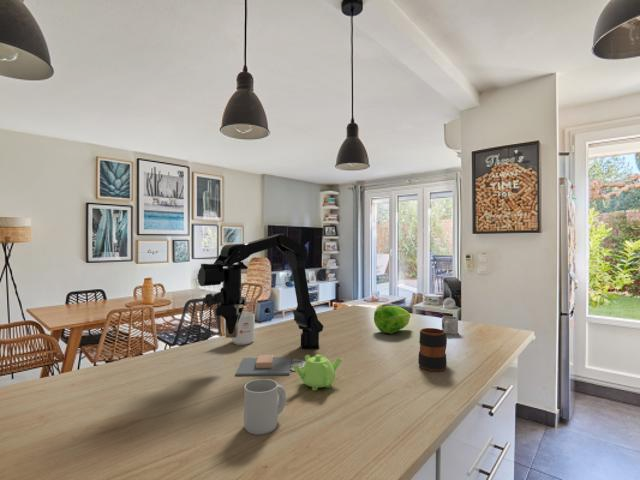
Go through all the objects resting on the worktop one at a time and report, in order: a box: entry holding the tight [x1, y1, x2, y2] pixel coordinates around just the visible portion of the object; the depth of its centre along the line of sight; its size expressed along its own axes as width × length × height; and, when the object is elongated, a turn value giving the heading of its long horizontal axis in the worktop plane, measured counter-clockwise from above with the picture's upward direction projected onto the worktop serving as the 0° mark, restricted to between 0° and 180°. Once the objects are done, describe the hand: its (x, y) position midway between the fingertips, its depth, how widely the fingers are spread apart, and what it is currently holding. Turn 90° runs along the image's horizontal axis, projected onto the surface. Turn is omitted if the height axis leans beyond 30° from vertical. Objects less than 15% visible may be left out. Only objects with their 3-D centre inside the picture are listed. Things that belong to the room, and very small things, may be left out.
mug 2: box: [417, 327, 448, 372], centre depth 114 cm, size 9×12×12 cm
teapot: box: [293, 353, 342, 392], centre depth 99 cm, size 11×12×8 cm
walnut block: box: [225, 320, 238, 339], centre depth 113 cm, size 3×3×6 cm
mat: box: [235, 356, 292, 377], centre depth 112 cm, size 16×14×1 cm
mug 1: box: [223, 311, 256, 346], centre depth 139 cm, size 12×9×11 cm
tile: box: [256, 354, 275, 368], centre depth 113 cm, size 5×2×7 cm
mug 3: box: [441, 315, 459, 336], centre depth 154 cm, size 10×7×7 cm, turn 144°
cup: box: [243, 378, 287, 436], centre depth 78 cm, size 7×10×9 cm
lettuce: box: [373, 305, 411, 335], centre depth 157 cm, size 14×20×12 cm
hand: (231, 332), depth 113 cm, fingers closed on walnut block, 3 cm apart
